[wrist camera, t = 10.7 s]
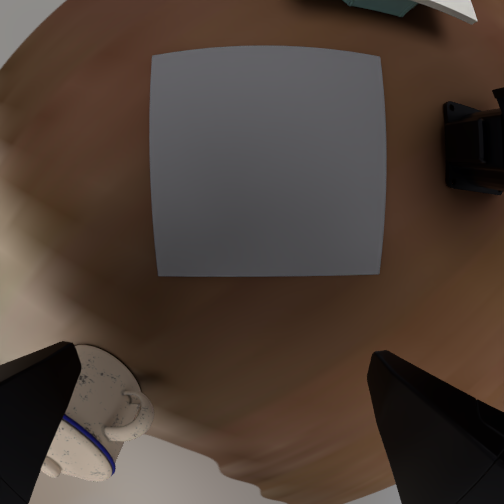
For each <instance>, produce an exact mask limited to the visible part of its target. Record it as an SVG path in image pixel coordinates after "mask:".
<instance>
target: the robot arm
mask: <svg viewBox="0 0 504 504" xmlns="http://www.w3.org/2000/svg"><path fill="white" fill-rule="evenodd" d="M492 92H493V94H494V97H495V99H496V98H497V101H498V104H499V107H500V109H493V110H487V111H480V110H477V109H474V108H471V107H468V106H465V105H461V104H458V103H455V102H452V101H449V102H446V103H445V104H444V115H445V139H446V184H447V186H448V187H449V188H453V189H461V190H468V191H475V192H482V193H488V194H495V195H501V194H502V192H503V191H504V88H499V89H495V90H492ZM449 106H450V107H451V110H450V108H449ZM452 179H453V184H452V183H451V180H452ZM81 369H82V366H81V362H80V359H79V356H78V353H77V350H76V347H75V345H74V344H73V343H70V342H65V341H62V342H59V343H57V344H54V345H51V346H49V347H46V348H44V349H41V350H39V351H36V352H33V353H31V354H28V355H26V356H23V357H20V358H18V359H15V360H13V361H10V362H7V363H5V364H2V365H0V504H28V503H29V501H30V498H31V495H32V492H33V489H34V486H35V483H36V481H37V478H38V476H39V473H40V470H41V468H42V465H43V463H44V460H45V458H46V455H47V453H48V450H49V448H50V446H51V443H52V441H53V439H54V436H55V434H56V432H57V430H58V427H59V425H60V423H61V421H62V419H63V416H64V414H65V412H66V410H67V408H68V405H69V402H70V400H71V397H72V394H73V391H74V389H75V386H76V383H77V380H78V378H79V375H80V373H81ZM367 382H368V386H369V391H370V395H371V400H372V404H373V409H374V414H375V418H376V422H377V426H378V429H379V432H380V435H381V438H382V441H383V444H384V447H385V450H386V453H387V456H388V459H389V463H390V466H391V469H392V472H393V475H394V479H395V482H396V485H397V489H398V492H399V496H400V499H401V503H402V504H504V412H502V411H500V410H498V409H496V408H494V407H492V406H490V405H487V404H486V403H484V402H482V401H480V400H476V398H474V397H472V396H470V395H468V394H467V393H465V392H463V391H461V390H459V389H457V388H455V387H453V386H452V385H450V384H448V383H446V382H444V381H442V380H440V379H439V378H437V377H435V376H433V375H431V374H429V373H427V372H426V371H424V370H422V369H420V368H418V367H416V366H415V365H413V364H411V363H409V362H407V361H406V360H404V359H402V358H400V357H398V356H396V355H395V354H393V353H391V352H389V351H387V350H383V351H375V352H374V353H373V354H372V357H371V361H370V365H369V370H368V374H367Z"/></svg>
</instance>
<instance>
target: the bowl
mask: <svg viewBox="0 0 504 504" xmlns="http://www.w3.org/2000/svg"><path fill="white" fill-rule="evenodd" d="M343 1H344V2H345V3H347V5H349V6H350V7H351V6H355V7H360V8H365V9H370V10H375V11H379V12H384V13H388V14H392V15H395V16H399V17H403V16H404V15H405V14H406V13H407V12H408V11H409V10H411V9H412V8H414V7H415V6H417V5H418V4H420V3H417V2H414V1H411V0H343Z"/></svg>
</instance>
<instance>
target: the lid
mask: <svg viewBox="0 0 504 504" xmlns="http://www.w3.org/2000/svg"><path fill="white" fill-rule="evenodd" d="M411 1H414V2H417V3H420V4H423V5H426V6H429V7H431V8H434V9H437V10H439V11H442V12H444V13H447V14H449V15H451V16H454V17H456V18H458V19H461V20H463V21H465V22H467V23H469V24H471V25H472V24H473V23H475V22H477V18H476V15H475V12H474V9H473V6H472V3H471V0H411Z"/></svg>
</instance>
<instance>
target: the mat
mask: <svg viewBox="0 0 504 504" xmlns="http://www.w3.org/2000/svg"><path fill="white" fill-rule="evenodd" d="M150 180H151V200H152V216H153V229H154V241H155V251H156V261H157V270H158V276H185V277H271V276H335V275H372V274H379V272H380V263H381V254H382V244H383V232H384V218H385V200H386V121H385V103H384V90H383V79H382V69H381V61H380V57H379V56H373V55H368V54H362V53H355V52H349V51H341V50H333V49H323V48H312V47H296V46H232V47H216V48H205V49H195V50H187V51H179V52H172V53H166V54H160V55H154V56H152V67H151V86H150Z"/></svg>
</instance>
